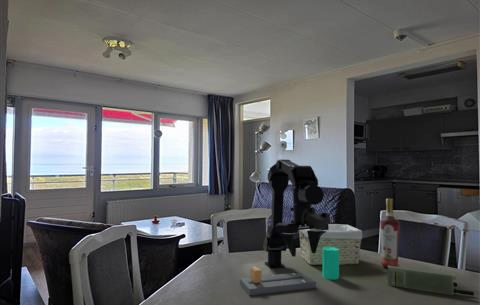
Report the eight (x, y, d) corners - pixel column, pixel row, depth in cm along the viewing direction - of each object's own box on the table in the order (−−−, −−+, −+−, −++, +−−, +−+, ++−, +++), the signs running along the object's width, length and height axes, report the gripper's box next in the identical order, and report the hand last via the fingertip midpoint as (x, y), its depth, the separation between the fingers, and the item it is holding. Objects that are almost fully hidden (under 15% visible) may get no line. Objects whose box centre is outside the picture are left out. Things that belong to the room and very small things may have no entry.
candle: (339, 280, 116) (339, 246, 116) (322, 278, 117) (322, 245, 117) (338, 274, 121) (338, 242, 122) (322, 273, 123) (322, 242, 123)
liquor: (379, 268, 130) (378, 199, 131) (381, 263, 136) (381, 197, 137) (399, 271, 126) (398, 200, 127) (400, 266, 132) (400, 198, 133)
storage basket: (347, 255, 149) (347, 223, 150) (364, 266, 133) (364, 230, 133) (297, 255, 146) (297, 223, 147) (308, 267, 130) (308, 230, 131)
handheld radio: (387, 283, 114) (472, 295, 104) (388, 286, 111) (475, 299, 101) (387, 264, 114) (472, 275, 104) (387, 267, 111) (475, 278, 101)
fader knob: (250, 279, 109) (250, 266, 109) (257, 278, 109) (257, 266, 110) (254, 283, 105) (254, 270, 105) (261, 282, 106) (261, 269, 106)
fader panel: (239, 284, 111) (239, 277, 111) (301, 277, 118) (301, 271, 118) (249, 295, 101) (249, 288, 101) (316, 287, 108) (316, 281, 108)
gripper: (301, 205, 90) (303, 262, 88) (341, 204, 101) (344, 255, 99) (274, 204, 99) (275, 256, 97) (313, 204, 110) (315, 250, 108)
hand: (304, 254), depth 100 cm, fingers open, 9 cm apart
